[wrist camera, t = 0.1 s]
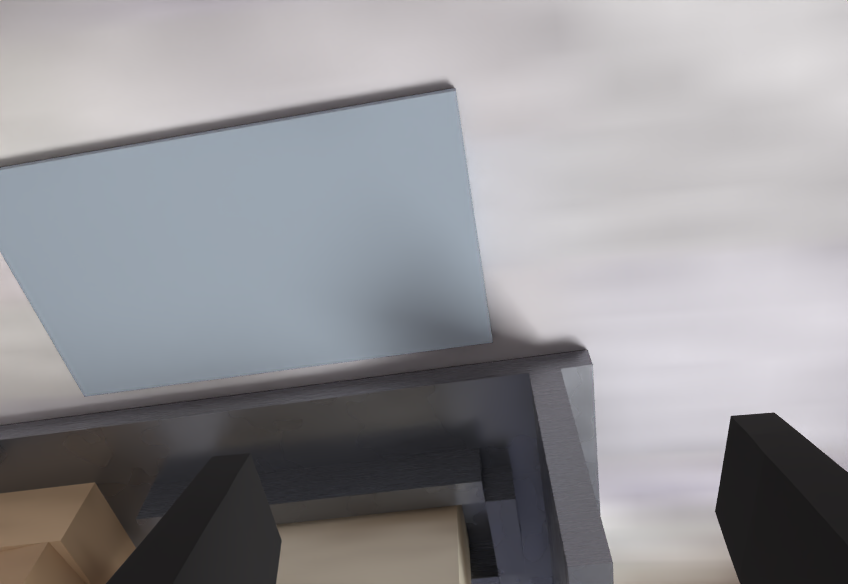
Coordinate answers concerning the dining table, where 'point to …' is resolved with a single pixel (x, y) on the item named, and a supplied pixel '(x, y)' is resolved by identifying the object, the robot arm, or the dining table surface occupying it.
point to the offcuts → (60, 536)
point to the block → (378, 549)
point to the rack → (366, 458)
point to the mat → (252, 246)
